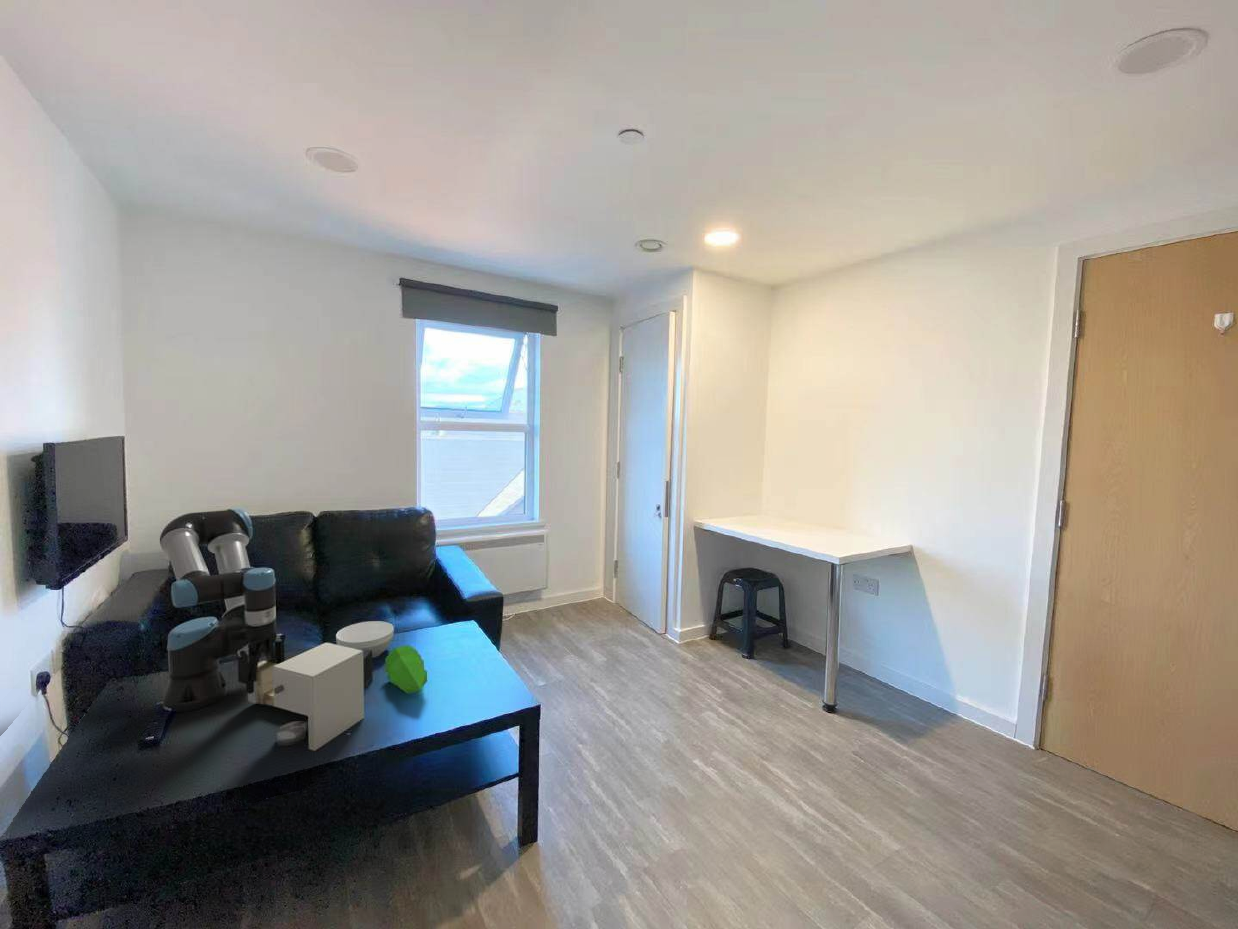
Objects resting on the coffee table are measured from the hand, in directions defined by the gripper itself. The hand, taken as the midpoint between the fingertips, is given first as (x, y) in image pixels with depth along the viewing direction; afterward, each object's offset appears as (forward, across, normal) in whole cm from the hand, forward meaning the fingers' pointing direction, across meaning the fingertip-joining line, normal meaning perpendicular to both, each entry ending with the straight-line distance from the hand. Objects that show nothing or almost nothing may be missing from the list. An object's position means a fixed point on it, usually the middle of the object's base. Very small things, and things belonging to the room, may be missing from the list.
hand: (263, 697), depth 154 cm
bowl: (+2, +36, -2) cm, 37 cm away
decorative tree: (+2, +24, -32) cm, 40 cm away
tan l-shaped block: (0, 0, -8) cm, 8 cm away
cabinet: (+2, -2, -26) cm, 26 cm away
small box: (+2, +18, -15) cm, 24 cm away
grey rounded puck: (+2, -9, -23) cm, 25 cm away
